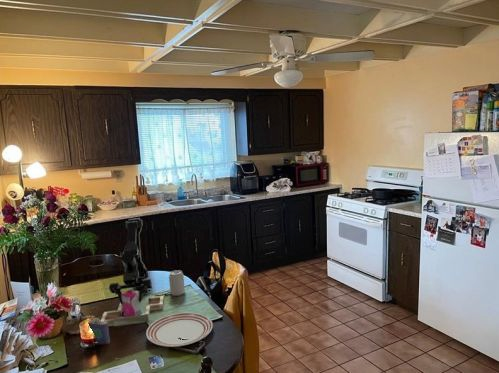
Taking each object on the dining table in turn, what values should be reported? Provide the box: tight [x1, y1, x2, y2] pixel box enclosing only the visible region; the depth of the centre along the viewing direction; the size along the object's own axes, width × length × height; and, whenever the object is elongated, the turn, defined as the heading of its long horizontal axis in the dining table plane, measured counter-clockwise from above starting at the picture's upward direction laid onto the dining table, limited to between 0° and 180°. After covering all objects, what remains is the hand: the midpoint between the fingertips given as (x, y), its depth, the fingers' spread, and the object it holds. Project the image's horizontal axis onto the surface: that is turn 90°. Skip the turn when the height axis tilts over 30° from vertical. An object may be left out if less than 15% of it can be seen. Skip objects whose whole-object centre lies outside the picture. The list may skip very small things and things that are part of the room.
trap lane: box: [100, 295, 165, 327], centre depth 179 cm, size 22×27×3 cm
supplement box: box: [121, 289, 142, 317], centre depth 173 cm, size 6×6×12 cm
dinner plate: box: [145, 311, 214, 348], centre depth 157 cm, size 28×27×3 cm
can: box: [168, 269, 186, 297], centre depth 197 cm, size 8×8×12 cm
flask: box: [87, 317, 111, 345], centre depth 154 cm, size 9×3×11 cm, turn 74°
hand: (130, 303), depth 171 cm, fingers closed on supplement box, 8 cm apart
